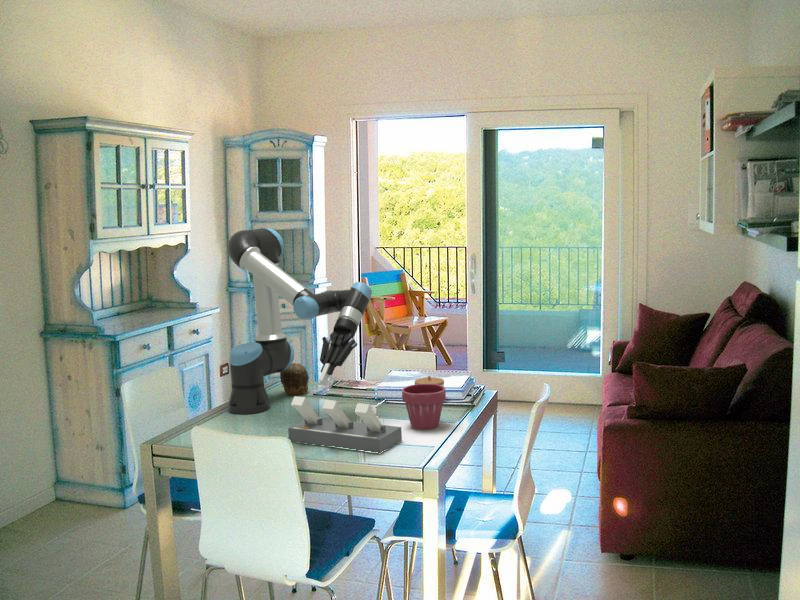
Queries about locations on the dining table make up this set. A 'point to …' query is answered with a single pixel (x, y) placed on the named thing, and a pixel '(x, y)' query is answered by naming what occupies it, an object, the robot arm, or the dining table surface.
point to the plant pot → (424, 404)
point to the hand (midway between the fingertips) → (322, 382)
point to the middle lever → (336, 413)
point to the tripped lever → (305, 409)
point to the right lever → (368, 417)
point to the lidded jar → (430, 381)
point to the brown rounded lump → (295, 380)
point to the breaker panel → (345, 435)
